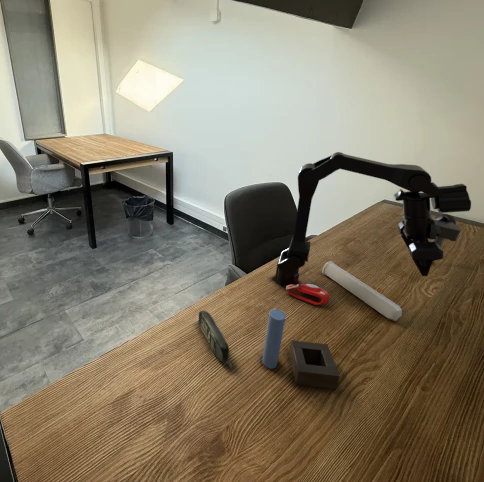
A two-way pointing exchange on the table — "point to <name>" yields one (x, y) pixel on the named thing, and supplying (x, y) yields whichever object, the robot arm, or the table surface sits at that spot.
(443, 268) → the table surface
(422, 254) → the robot arm
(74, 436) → the table surface
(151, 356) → the table surface
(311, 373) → the stand
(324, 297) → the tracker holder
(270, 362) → the peg
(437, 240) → the microphone
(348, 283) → the tube
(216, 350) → the mobile phone
